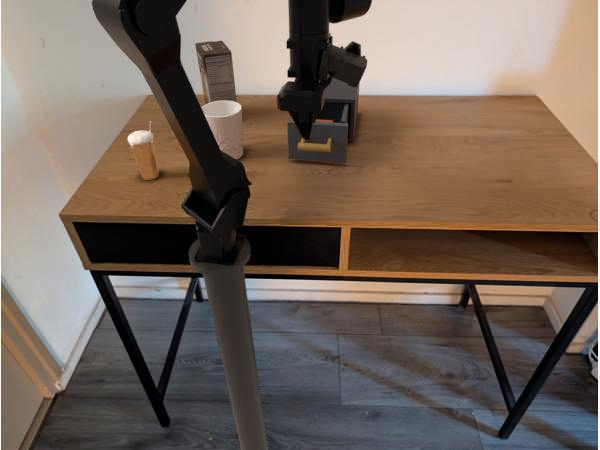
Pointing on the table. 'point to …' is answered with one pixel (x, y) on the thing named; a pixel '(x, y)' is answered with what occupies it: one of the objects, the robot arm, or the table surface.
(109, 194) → the table surface
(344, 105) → the drawer
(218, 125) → the white cup
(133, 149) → the milkshake
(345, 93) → the cabinet
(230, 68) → the coffee box
